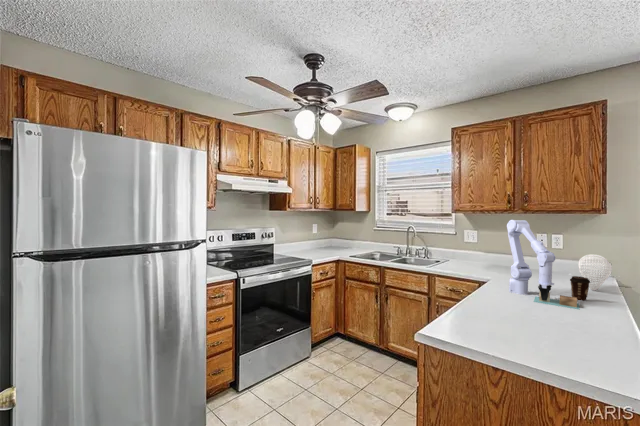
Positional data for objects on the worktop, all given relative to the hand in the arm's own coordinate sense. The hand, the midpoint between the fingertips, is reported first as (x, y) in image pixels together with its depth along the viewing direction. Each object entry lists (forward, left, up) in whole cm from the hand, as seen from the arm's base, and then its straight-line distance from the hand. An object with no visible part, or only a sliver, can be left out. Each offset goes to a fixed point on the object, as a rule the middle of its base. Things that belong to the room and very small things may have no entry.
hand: (544, 299), depth 169 cm
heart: (+23, +55, -2) cm, 60 cm away
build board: (+5, 0, -2) cm, 5 cm away
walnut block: (+10, 0, -1) cm, 10 cm away
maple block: (0, 0, -1) cm, 1 cm away
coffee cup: (+15, +18, -2) cm, 23 cm away
